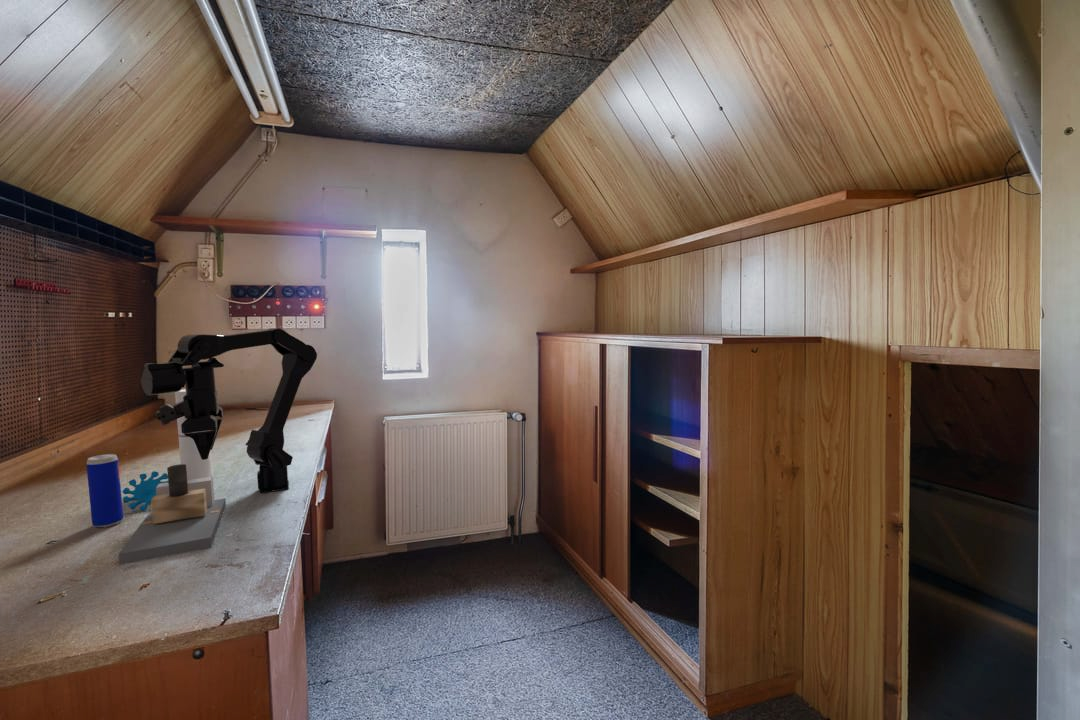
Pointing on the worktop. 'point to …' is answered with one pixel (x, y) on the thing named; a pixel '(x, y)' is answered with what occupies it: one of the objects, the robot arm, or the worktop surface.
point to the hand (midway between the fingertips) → (207, 454)
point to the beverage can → (104, 490)
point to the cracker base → (176, 529)
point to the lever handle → (178, 499)
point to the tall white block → (191, 450)
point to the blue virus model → (143, 490)
